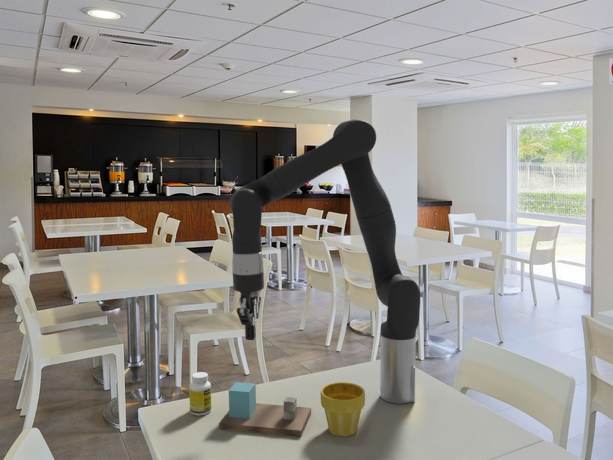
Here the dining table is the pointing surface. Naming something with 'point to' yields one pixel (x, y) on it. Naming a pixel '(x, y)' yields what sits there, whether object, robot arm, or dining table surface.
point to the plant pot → (342, 407)
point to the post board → (271, 419)
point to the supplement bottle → (200, 394)
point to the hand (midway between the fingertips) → (250, 339)
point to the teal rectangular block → (242, 400)
